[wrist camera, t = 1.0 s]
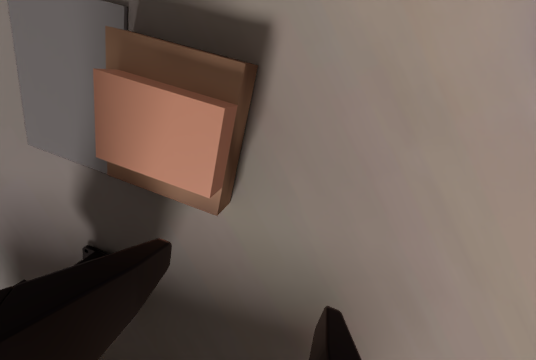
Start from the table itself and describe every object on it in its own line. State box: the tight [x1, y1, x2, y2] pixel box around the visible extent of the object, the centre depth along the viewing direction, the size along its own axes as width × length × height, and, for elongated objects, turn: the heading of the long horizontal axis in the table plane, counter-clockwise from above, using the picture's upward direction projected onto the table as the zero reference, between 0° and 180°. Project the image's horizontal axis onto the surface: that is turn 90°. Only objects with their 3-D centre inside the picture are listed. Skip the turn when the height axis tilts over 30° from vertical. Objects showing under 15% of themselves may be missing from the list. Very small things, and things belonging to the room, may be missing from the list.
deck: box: [105, 26, 258, 216], centre depth 20 cm, size 11×10×2 cm
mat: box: [7, 0, 127, 174], centre depth 23 cm, size 14×11×1 cm
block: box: [93, 69, 238, 199], centre depth 18 cm, size 9×6×2 cm, turn 77°
